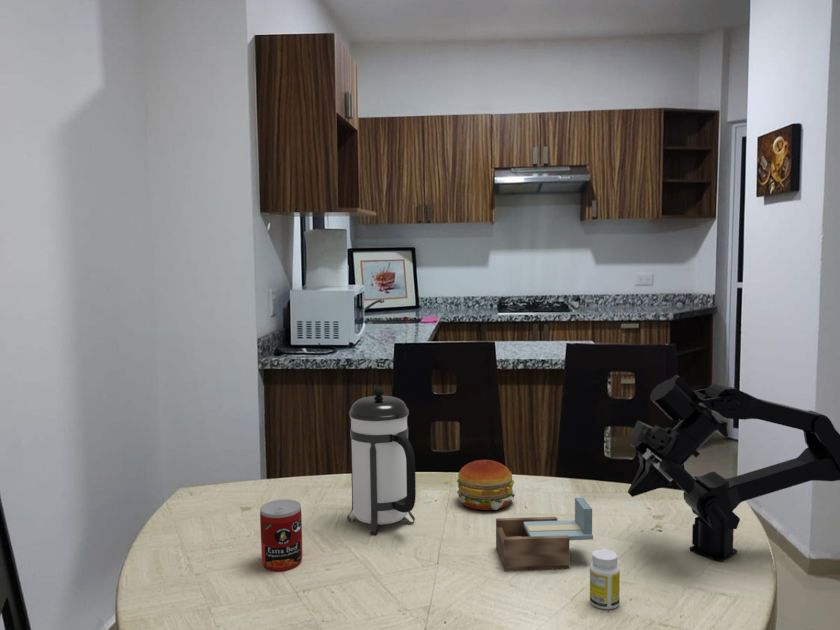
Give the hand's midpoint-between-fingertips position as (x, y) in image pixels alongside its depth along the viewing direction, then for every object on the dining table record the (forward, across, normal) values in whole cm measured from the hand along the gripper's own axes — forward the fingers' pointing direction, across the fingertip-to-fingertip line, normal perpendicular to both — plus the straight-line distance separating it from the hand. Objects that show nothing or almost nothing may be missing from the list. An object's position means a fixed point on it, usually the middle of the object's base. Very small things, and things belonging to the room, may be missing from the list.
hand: (629, 494), depth 131 cm
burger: (+25, -29, -8) cm, 40 cm away
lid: (+15, 0, -5) cm, 16 cm away
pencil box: (+22, 0, -5) cm, 22 cm away
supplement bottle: (+16, +17, +1) cm, 24 cm away
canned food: (+56, -2, -38) cm, 68 cm away
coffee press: (+42, -19, -25) cm, 52 cm away
